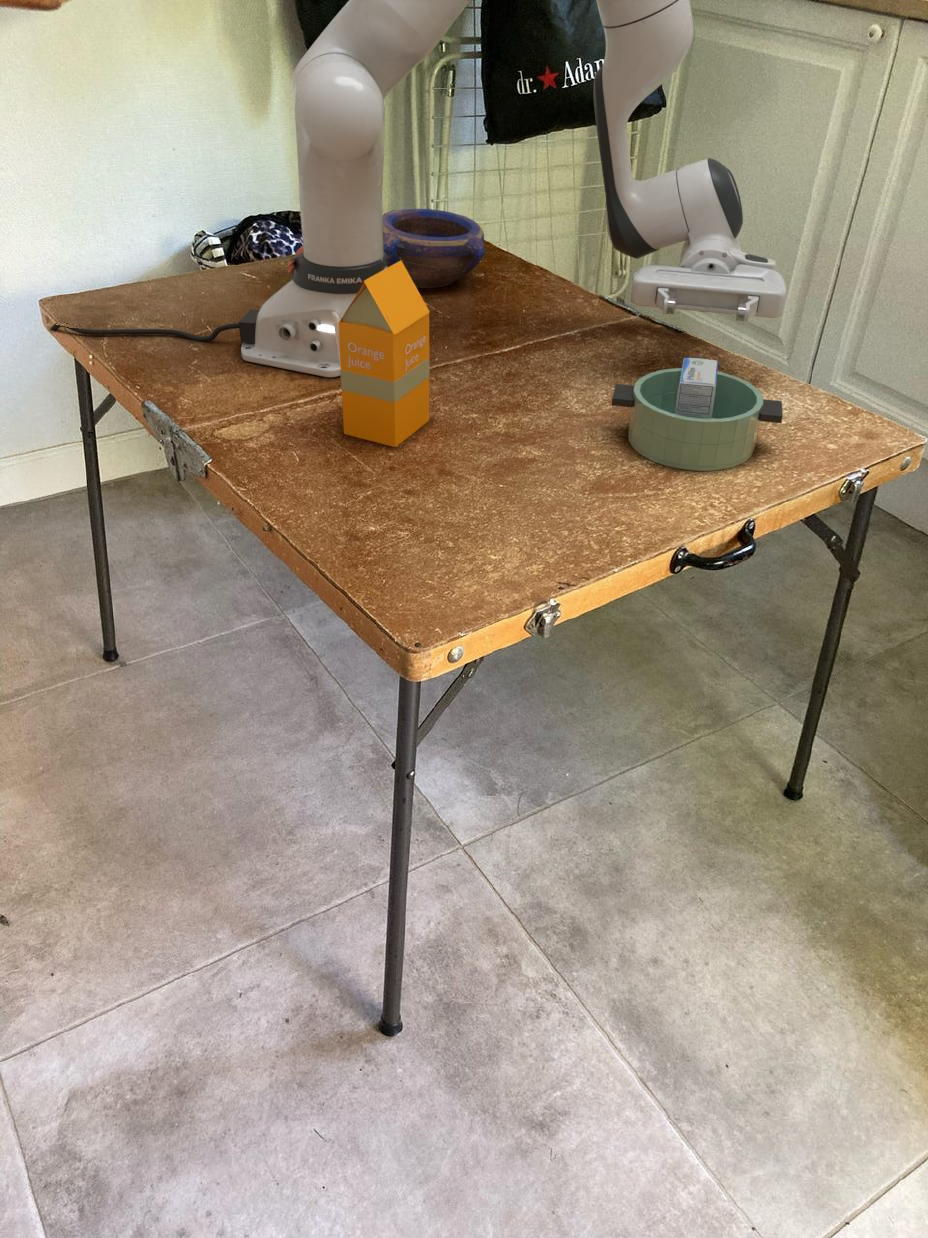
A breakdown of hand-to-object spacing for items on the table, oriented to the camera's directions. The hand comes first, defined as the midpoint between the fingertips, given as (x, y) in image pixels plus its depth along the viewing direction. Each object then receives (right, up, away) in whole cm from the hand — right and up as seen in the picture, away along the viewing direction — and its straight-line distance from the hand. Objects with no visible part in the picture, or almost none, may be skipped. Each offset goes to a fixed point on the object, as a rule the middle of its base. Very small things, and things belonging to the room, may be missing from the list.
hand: (705, 311), depth 138 cm
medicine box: (-3, -17, -3) cm, 17 cm away
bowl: (-37, +18, +44) cm, 60 cm away
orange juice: (-41, -15, -1) cm, 44 cm away
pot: (-3, -17, -3) cm, 18 cm away
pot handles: (-3, -13, -6) cm, 15 cm away
